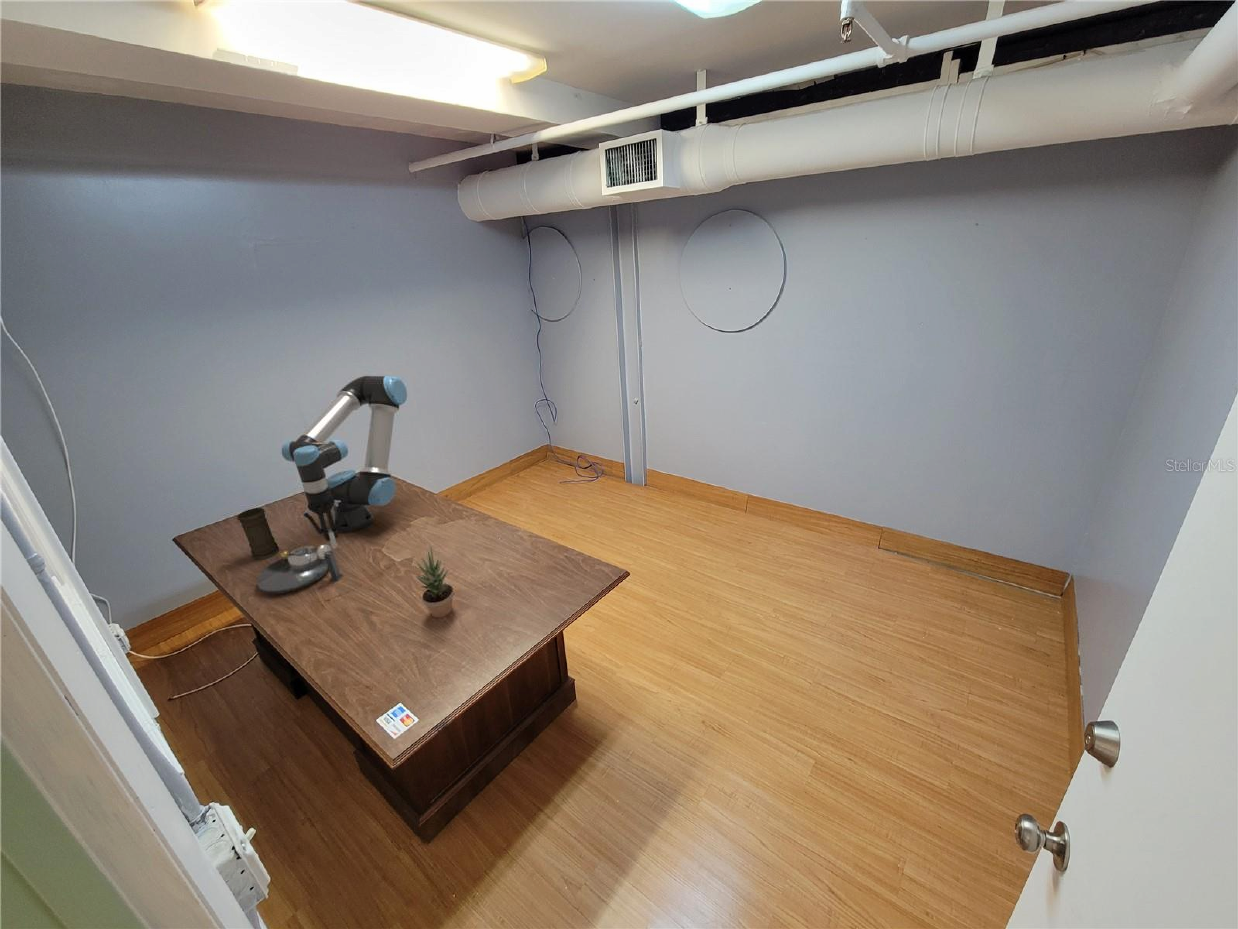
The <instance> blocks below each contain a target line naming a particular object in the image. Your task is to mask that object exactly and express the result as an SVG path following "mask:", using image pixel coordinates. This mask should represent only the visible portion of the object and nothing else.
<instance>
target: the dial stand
mask: <svg viewBox="0 0 1238 929" xmlns="http://www.w3.org/2000/svg"><path fill="white" fill-rule="evenodd" d="M316 550H317V557H318V558H319V559H326V562H327V565H328V568H329V569H328V571H329V574H330V578H329V581H333V582H334V581H335V582H338V581H340V580H341V579H342V577H344V574H343V573H340V569H339V566H338V562H337V560H336V557H335V553H334V551H333V550H332V547H331V545H329V544H320V545H319V546H318V547H317V548H316Z"/></svg>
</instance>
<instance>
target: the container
mask: <svg viewBox="0 0 1238 929" xmlns="http://www.w3.org/2000/svg"><path fill="white" fill-rule="evenodd" d="M237 520H239V523H241V527H242V529H243V531H244V534H245V536H246V538H247V541H248V544H249V547H250V550H251V551H250V552H251V556H252V558H253V559H254V560H265V559H269V558H271V557H273V556H275V555H276V554H277V553H278V552H279V551H280V546H279V545H278V543H277V542H276V541H275V537H274V536H273V533H272V531H271V528H270V525H269V523H268V521H267V520H268V519H267V518H266V511H265V509H264V508H261V507H255V508H250V509H247V510H244V511H242V512H240V513H239V514H238V515H237Z"/></svg>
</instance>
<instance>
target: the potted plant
mask: <svg viewBox="0 0 1238 929" xmlns="http://www.w3.org/2000/svg"><path fill="white" fill-rule="evenodd" d="M429 547H430V552H429V551H427V556H428V557H427V558H428V562H426V560H425V559H424V558H423V557H421V560H422V562H423V565H424V567H423V566H421V564H419V562H416V564H417V567H418V568H419V569H420V571H421V572H422V573H423V575H422V576H420V575H418V574H417V575H415V579H418V581H419V582H420V583H422V584H423V585H420V587H421V588H423V589H425V590H424V591H423V592H422V593H421V601H422V603H423V605H425V606H426V608H428V611H429V612H430V614H431V615H432V617H434V618H443V617H446V616H448V615H449V614H450V613H451V612H452V609H453V598H454V596H455V590H454V587H453V586H452V585H451V584H448V583H447V582H445V581H444V580H445V578H446V576H447V574H448V572H449V569H448V570H446V572H445V573H444V571H445V568H446V567H445V566H443V568H442V569H441V565H442V560H439V559H437V561H436V564H435V560H434V553H433V549H432V546H431V544H429ZM440 569H441V570H440ZM424 585H425V586H424Z"/></svg>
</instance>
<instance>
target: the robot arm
mask: <svg viewBox="0 0 1238 929" xmlns="http://www.w3.org/2000/svg"><path fill="white" fill-rule="evenodd" d="M407 399H408V392H407V387H406V385H405V383H404V381H403V380H402V379H401V378H399V377H397V376H391V375H363V376H360V377H357V378H355V379H354V380H353V379H352V380H351V381H350V382H349V383H347V384H346V385H345V386H343V387H342V388H341V390H339V391H338V392H337V394H336V398H335V400H333V402H331V404H330V405H329V406H328V407H327V408H325V410H324V411H323V412H322V413H321V414H320V416H318V417H317V419H315V420H314V422H313V423H311V425H310V426H309V427H308V428H307V429H306V430H305V431H303V433H302V434H301V435H300V436H299V437H298V438H297V439H296V440H291V441H287V442H285V443H284V444H283V445H282V447H281V455H282V457H283V459H284V460H285V461H288V462H293V463H295V464H294V465H295V466H296V469H297V473H298V475H299V478H300V481H301V485H302V488H303V491H304V492H305V497H306V500H307V509H305V511H302V512H301V514H302V515H303V517H305V518H307V520H309V522H310V523H311V525H312V527H313V528H314V529H315V531H316V532H317V533H318V534H319V535H322V534H323V535H324V539H325V540H326V542H329V543H330V547H331V549H336V548H338V547H339V546H338V544H337V541H336V538H338V537H339V536H338V533H353V532H357V531H360V530H362V529H364V528H366V527H368V526H370V525H371V524H372V523H373V521H374V516H373V513H372V511H371V510H370V509H369V508H368V507H367V506H370V507H380V506H381V507H382V506H385V505H388V504H389V503H390V502H391V501H392V500H393V498H394V496H395V493H396V489H397V486H396V483H395V481H394V479H392V478H391V477H392V476H391V475H392V473H390V472H389V470H388V469H389V461H390V460H389V459H390V451H391V444H392V435H393V429H394V428H393V427H394V422H395V421H394V419H395V413H397V412H399V410H400V406H402V405H403V404H405V402H406V401H407ZM363 405H368V407H369V409H370V410H371V414H370V421H369V422H370V423H369V429H368V439H367V443H366V444H367V446H366V454H365V461H364V467H363V468H362V469H360V470H359V474H358V475H357V472H356V471H355V470H352V469H349V470H344V471H340V472H336V473H335V474H333V475H330V476H329V477H328V478H327V476H326V472H325V469H326V468H329V467H330V466H332V465H334V464H336V463H339V462H340V461H342V460H343V459H345V458H346V457H347V456H348V454H349V449H348V448H349V447H348V445H346V443H345V442H344V441H343V440H340V439H333V440H330V441H329V442H328V440H329V438H330V437H331V436H332V435H333V434H334V433H335V431H336V430H337V429H338V428H339V427H340V426H341V425H342V424H343V423H344V422H345V420H346V419H347V418H349V416H350V415H351V414H352V413H353V411H356V410H359V409H360V408H361V407H363ZM326 441H327V442H326ZM332 510H333V513H332ZM312 512H313V513H315V515H317V517H318V520H319V524H320V526H319V524H318V523H317V522H316V520H315V519H314V518H313V516H312ZM324 514H325V515H326V518H327V522H328V524H329V527H330V529H328V526H327V523H326V519H325V515H324ZM320 527H321V528H320Z"/></svg>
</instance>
